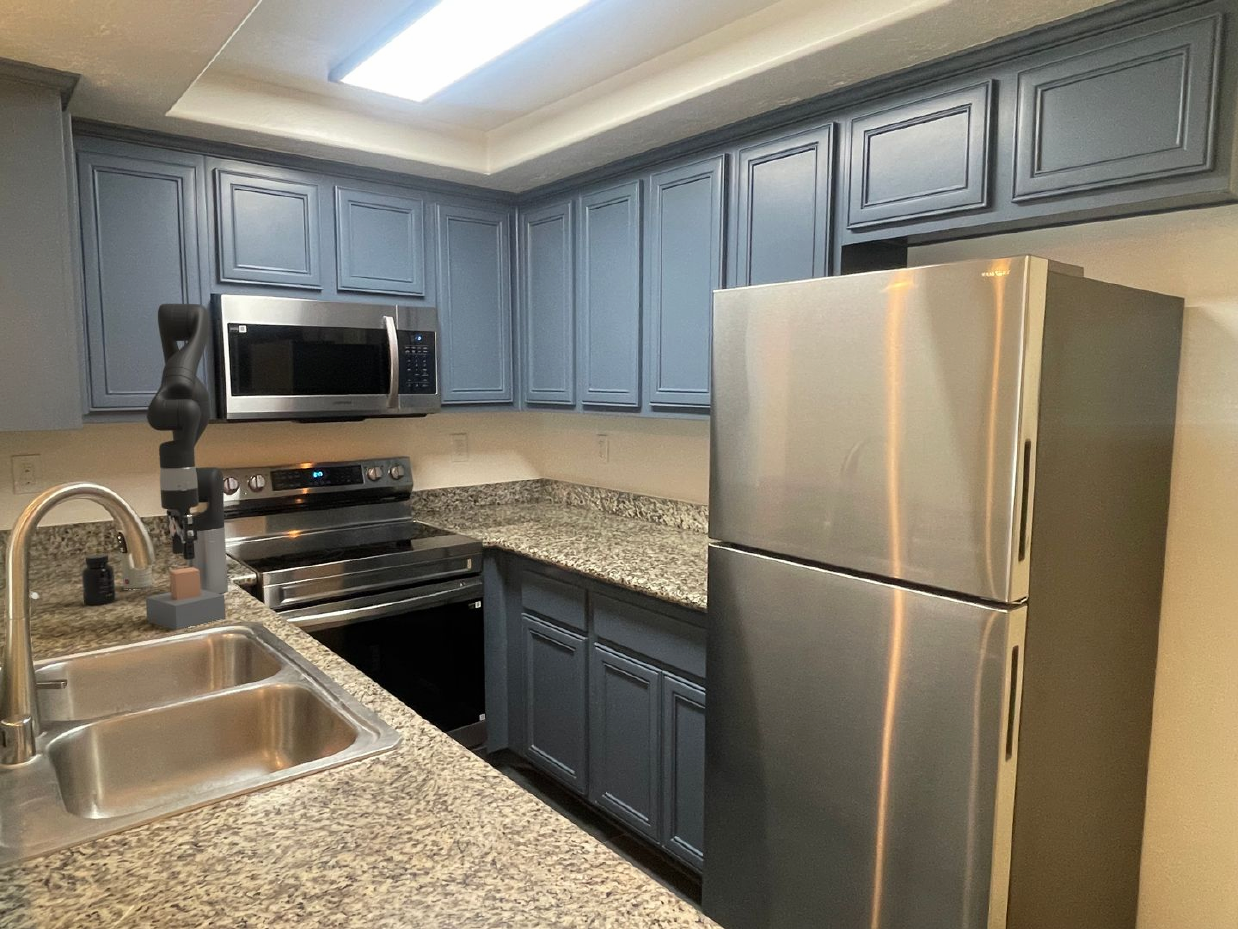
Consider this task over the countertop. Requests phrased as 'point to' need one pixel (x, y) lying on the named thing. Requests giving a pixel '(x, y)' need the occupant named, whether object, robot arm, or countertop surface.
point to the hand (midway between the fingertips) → (183, 556)
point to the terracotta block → (185, 583)
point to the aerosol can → (135, 576)
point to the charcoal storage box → (185, 610)
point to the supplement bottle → (98, 581)
